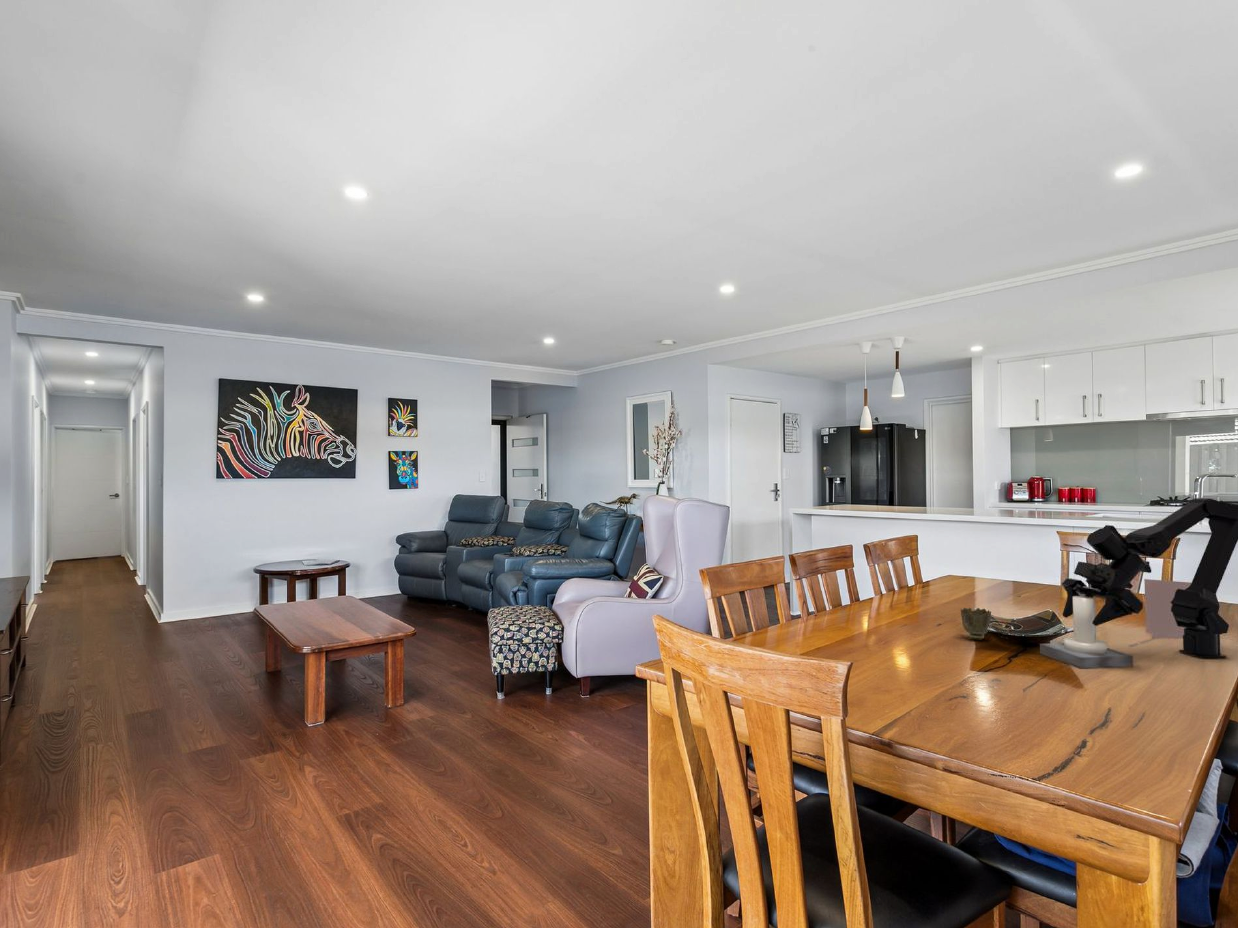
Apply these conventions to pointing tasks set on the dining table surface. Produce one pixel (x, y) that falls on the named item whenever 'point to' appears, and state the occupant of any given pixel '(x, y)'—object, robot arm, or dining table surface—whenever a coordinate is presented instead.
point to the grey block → (1086, 657)
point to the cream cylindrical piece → (1084, 628)
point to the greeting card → (1162, 608)
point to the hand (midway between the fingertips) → (1078, 620)
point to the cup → (976, 622)
